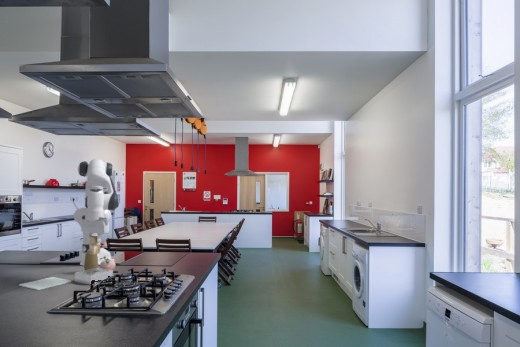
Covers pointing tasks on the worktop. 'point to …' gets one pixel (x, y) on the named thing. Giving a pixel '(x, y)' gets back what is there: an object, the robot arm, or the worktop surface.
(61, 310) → the worktop surface
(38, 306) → the worktop surface
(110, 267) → the decorative fruit
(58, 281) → the sage pad
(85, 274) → the aluminium socket block
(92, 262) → the squeeze bottle
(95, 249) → the birch peg
